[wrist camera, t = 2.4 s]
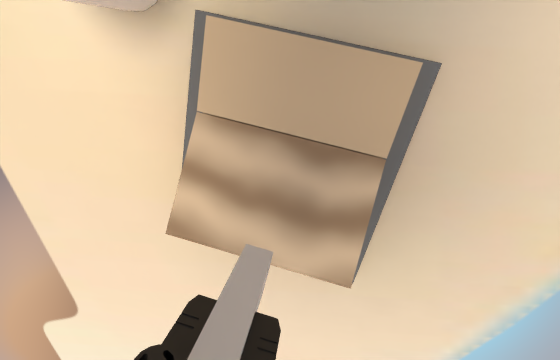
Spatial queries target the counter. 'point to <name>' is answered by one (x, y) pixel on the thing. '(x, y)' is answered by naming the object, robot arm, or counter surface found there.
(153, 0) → the foam cup
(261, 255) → the robot arm
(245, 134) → the plank
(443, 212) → the counter surface
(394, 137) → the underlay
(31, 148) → the counter surface
